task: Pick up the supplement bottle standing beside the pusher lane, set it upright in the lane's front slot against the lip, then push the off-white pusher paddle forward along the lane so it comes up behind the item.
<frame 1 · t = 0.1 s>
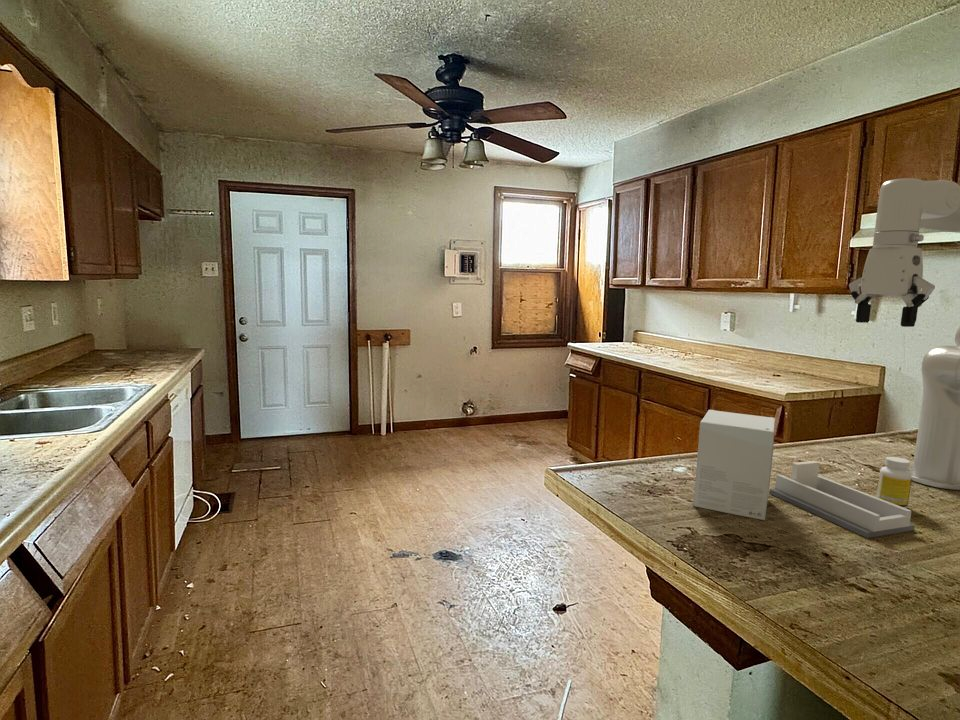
hand: (884, 324, 121), 37 cm above the countertop, tool pointing down, fingers open, 9 cm apart
pusher: (804, 476, 122), point 4 cm above the countertop, slide at 0.0 cm
lane: (836, 510, 115), on the countertop
supplement bottle: (891, 506, 119), on the countertop
supplement box: (730, 503, 118), on the countertop
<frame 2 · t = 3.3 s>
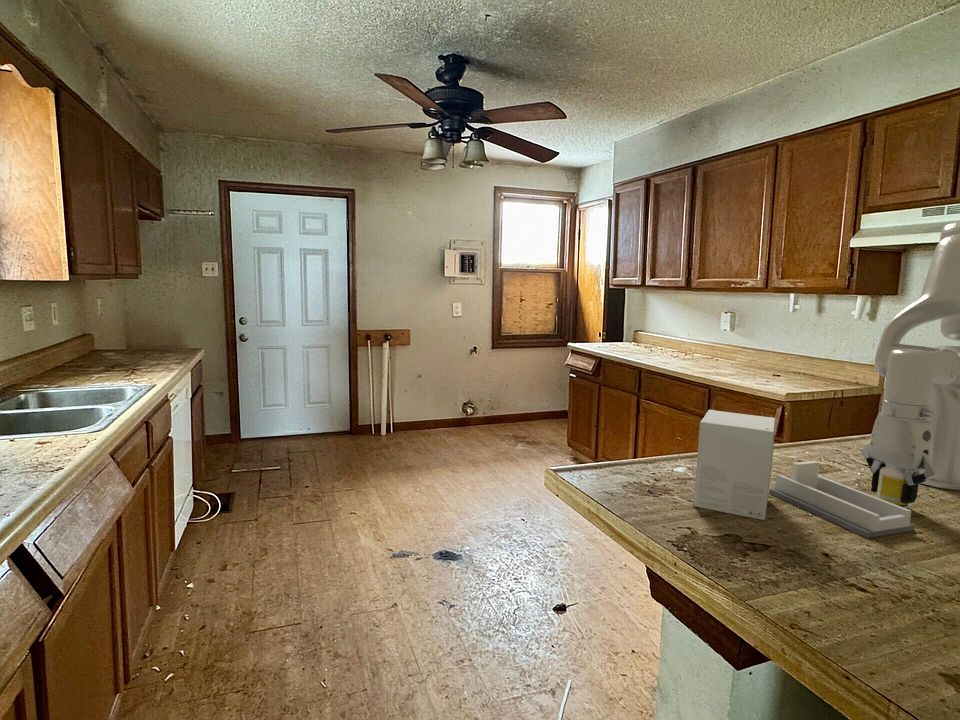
hand: (892, 496, 118), 2 cm above the countertop, tool pointing down, fingers closed on supplement bottle, 5 cm apart
supplement bottle: (891, 506, 119), on the countertop, touching gripper
everything else where it was.
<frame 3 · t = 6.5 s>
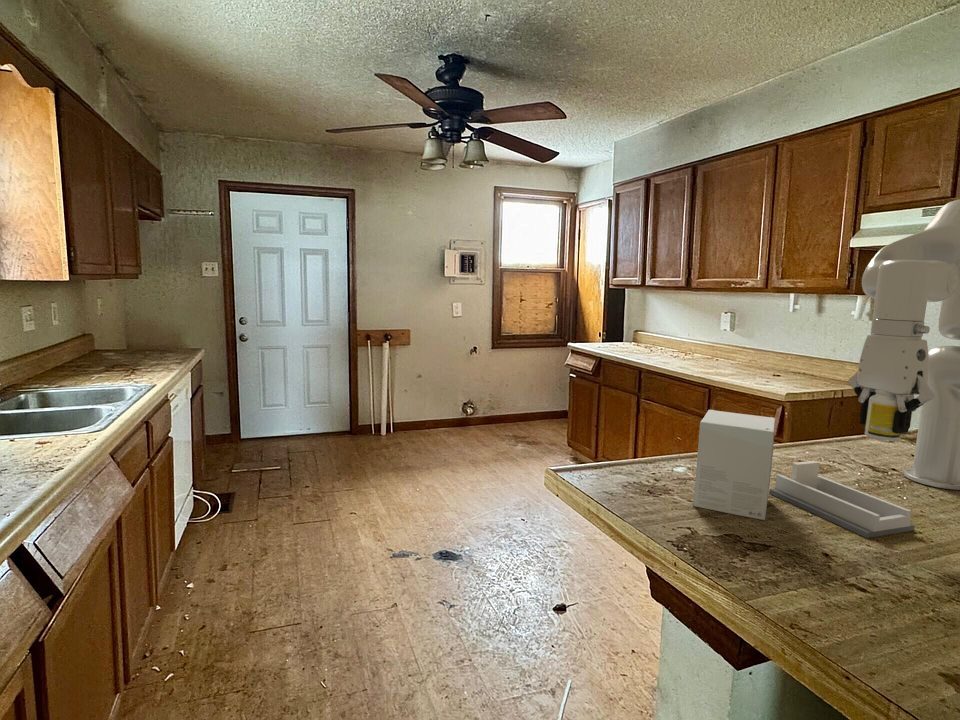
hand: (883, 427, 106), 19 cm above the countertop, tool pointing down, fingers closed on supplement bottle, 5 cm apart
supplement bottle: (881, 438, 106), point 17 cm above the countertop, touching gripper
everything else where it was.
when the fingers open (4 cm above the countertop, at t = 9.5 s): supplement bottle drops 1 cm, resting on lane.
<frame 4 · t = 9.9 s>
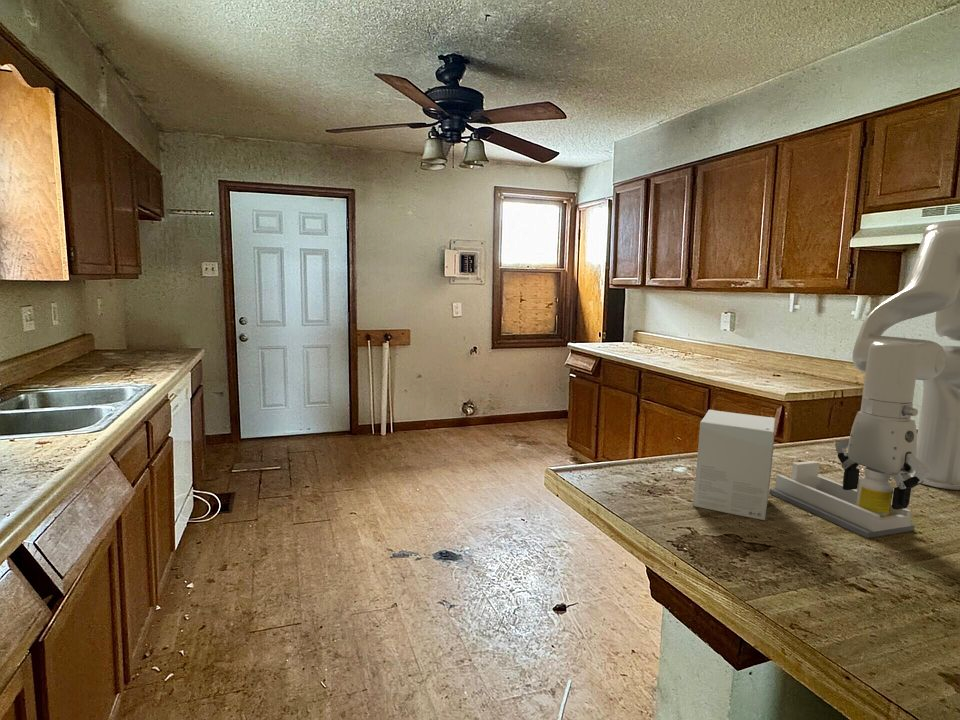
hand: (873, 498, 108), 5 cm above the countertop, tool pointing down, fingers open, 9 cm apart
supplement bottle: (870, 520, 108), point 1 cm above the countertop, touching lane
everything else where it was.
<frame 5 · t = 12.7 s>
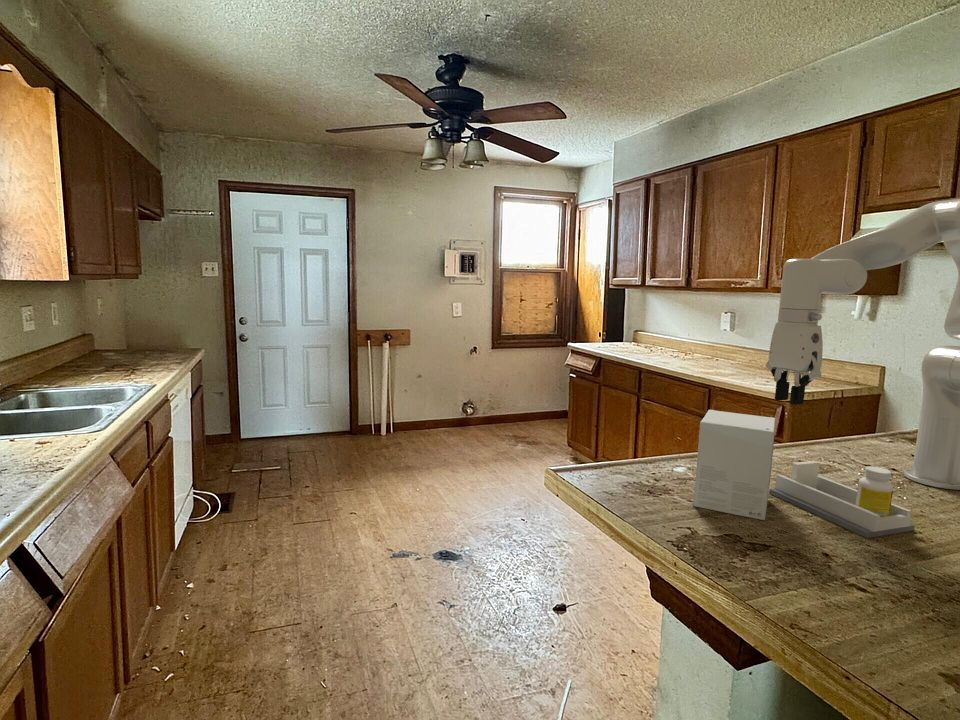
hand: (788, 401, 125), 19 cm above the countertop, tool pointing down, fingers open, 3 cm apart
nothing on the countertop moved.
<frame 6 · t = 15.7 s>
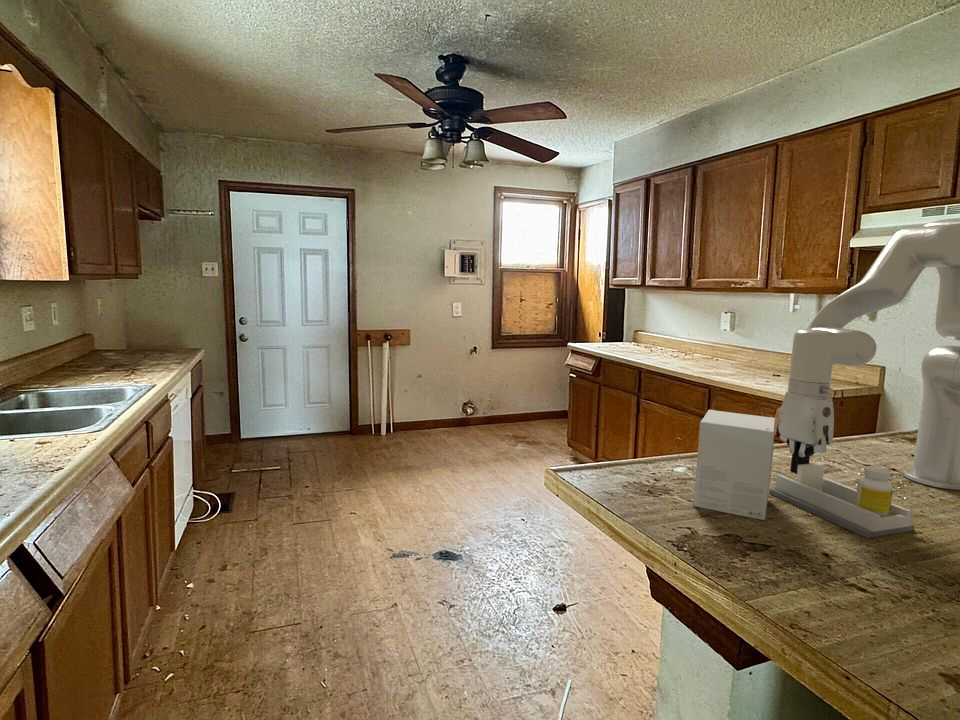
hand: (798, 472, 123), 5 cm above the countertop, tool pointing down, fingers closed
pusher: (809, 478, 121), point 4 cm above the countertop, slide at 1.3 cm, touching gripper
everything else where it was.
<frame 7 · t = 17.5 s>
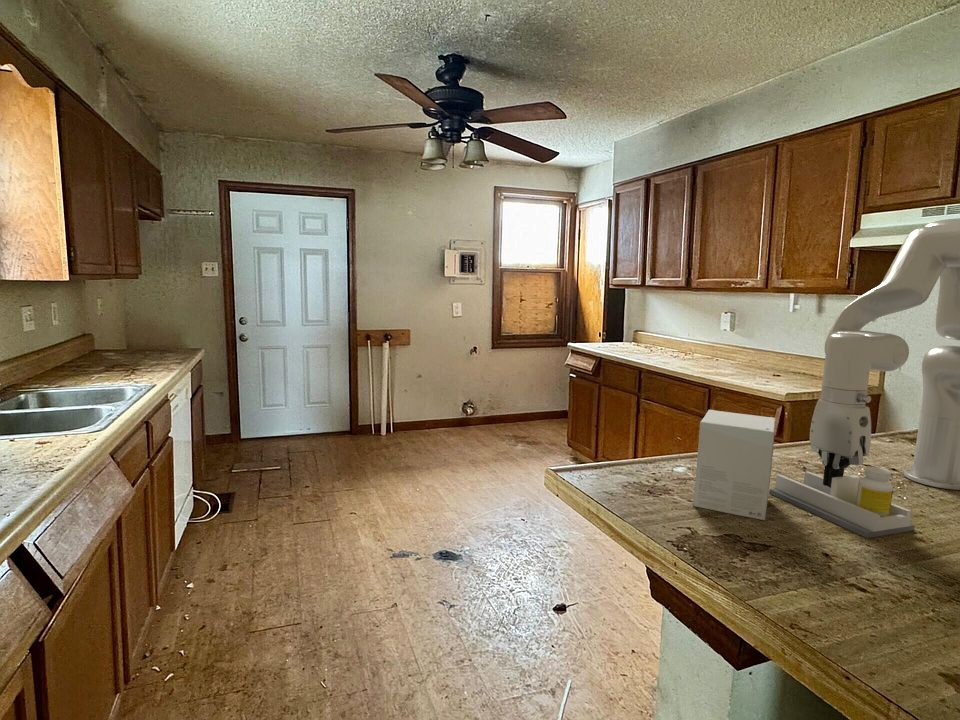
hand: (832, 485, 116), 5 cm above the countertop, tool pointing down, fingers closed
pusher: (844, 492, 113), point 4 cm above the countertop, slide at 9.2 cm, touching gripper
everything else where it was.
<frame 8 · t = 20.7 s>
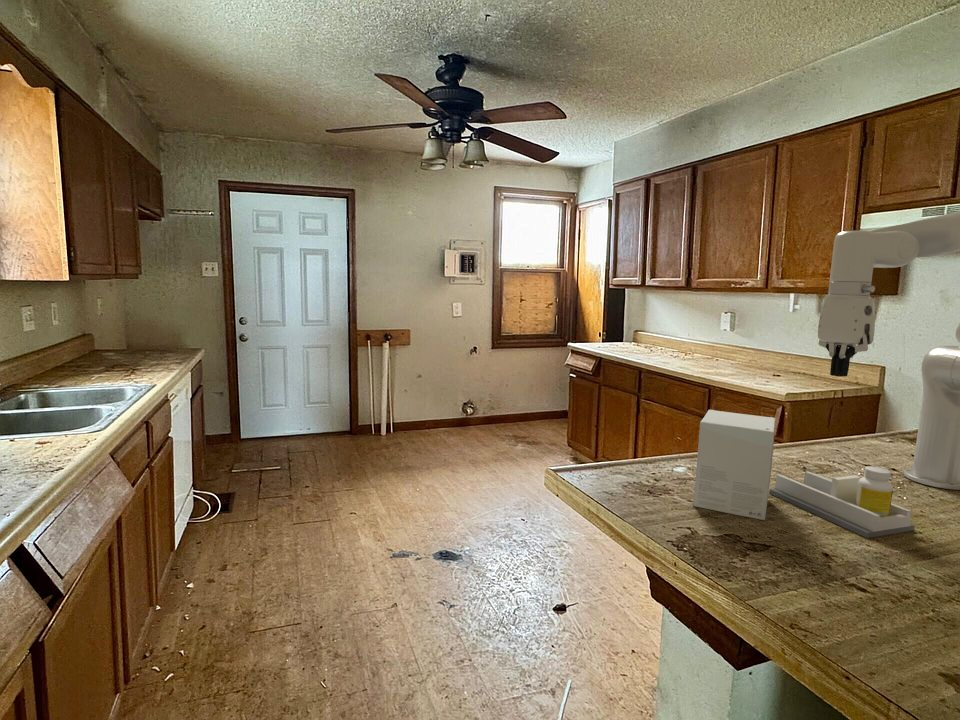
hand: (838, 375, 125), 25 cm above the countertop, tool pointing down, fingers closed
pusher: (844, 492, 113), point 4 cm above the countertop, slide at 9.2 cm
everything else where it was.
at the end: supplement bottle 0.2 cm from the target spot on the lane, point 0.8 cm above the lane's base; supplement bottle tilted 0°; pusher slide at 9.2 cm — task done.
